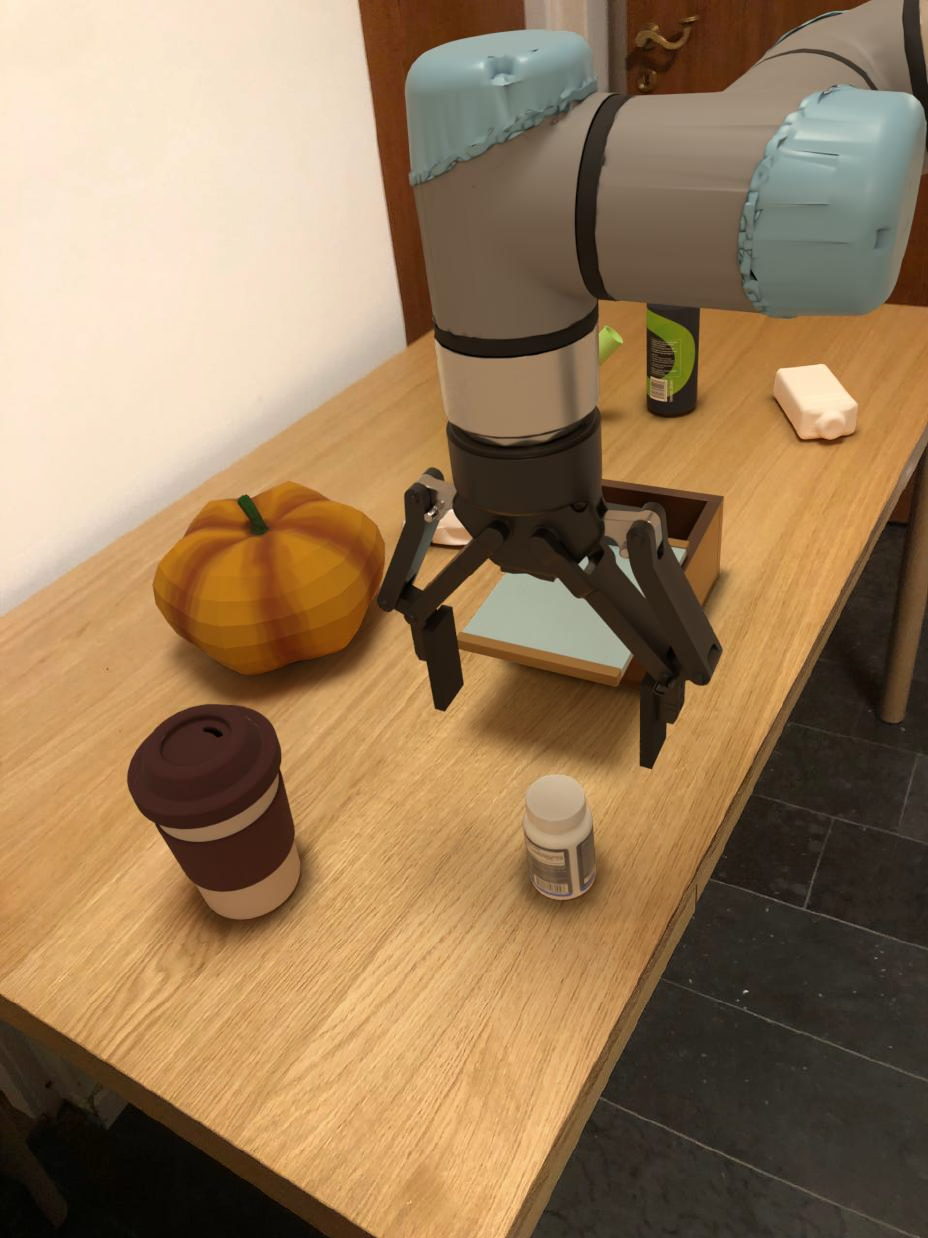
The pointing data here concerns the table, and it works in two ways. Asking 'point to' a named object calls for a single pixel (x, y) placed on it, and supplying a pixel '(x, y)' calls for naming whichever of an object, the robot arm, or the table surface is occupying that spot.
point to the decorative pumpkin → (271, 578)
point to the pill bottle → (559, 837)
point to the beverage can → (672, 358)
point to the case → (685, 521)
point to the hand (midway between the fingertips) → (546, 723)
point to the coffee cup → (221, 805)
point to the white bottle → (815, 402)
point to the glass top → (553, 624)
